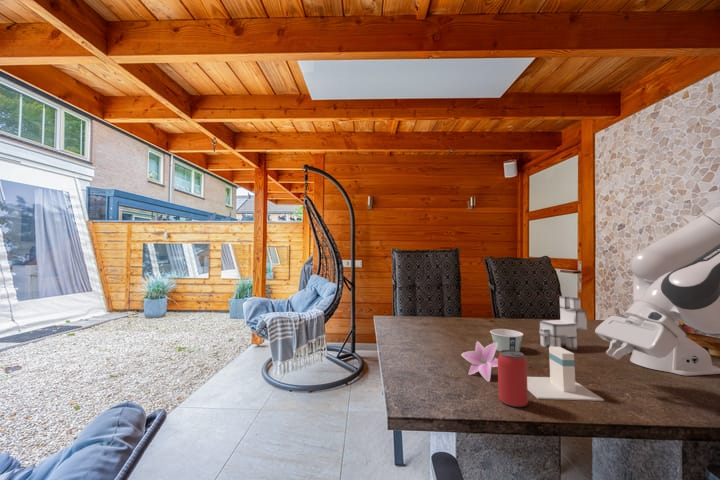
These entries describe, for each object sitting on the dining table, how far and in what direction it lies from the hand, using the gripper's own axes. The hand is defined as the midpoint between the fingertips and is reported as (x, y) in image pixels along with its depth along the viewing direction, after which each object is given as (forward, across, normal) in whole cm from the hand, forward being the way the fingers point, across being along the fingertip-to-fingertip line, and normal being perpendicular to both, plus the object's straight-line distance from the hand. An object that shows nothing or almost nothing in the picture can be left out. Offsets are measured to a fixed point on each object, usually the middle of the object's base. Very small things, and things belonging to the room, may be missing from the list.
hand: (611, 356), depth 83 cm
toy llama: (-1, -42, +14) cm, 44 cm away
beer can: (+28, +8, -15) cm, 32 cm away
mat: (+17, -1, -4) cm, 17 cm away
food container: (+15, -38, -3) cm, 41 cm away
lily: (+28, -10, -16) cm, 34 cm away
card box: (+15, -1, -3) cm, 16 cm away
